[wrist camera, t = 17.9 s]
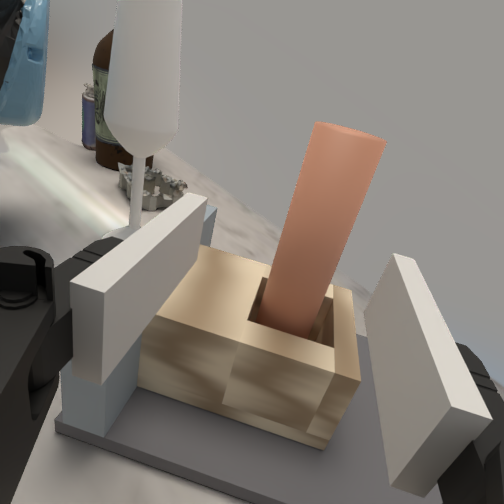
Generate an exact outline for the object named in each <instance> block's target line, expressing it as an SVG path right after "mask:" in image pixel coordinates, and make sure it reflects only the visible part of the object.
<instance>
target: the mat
mask: <svg viewBox="0 0 504 504" xmlns="http://www.w3.org/2000/svg"><path fill="white" fill-rule="evenodd" d="M356 338H357V347H358V356H359V366H360V375H361V383H360V385H359V387H358V388H357V390H356V392H355V394H354V396H353V398H352V399H351V401H350V403H349V405H348V407H347V409H346V411H345V412H344V414H343V416H342V418H341V420H340V422H339V424H338V425H337V427H336V429H335V431H334V433H333V435H332V436H331V438H330V440H329V442H328V444H327V446H326V448H325V449H324V451H323V450H321V449H318V448H315V447H312V446H309V445H306V444H303V443H300V442H297V441H294V440H292V439H289V438H286V437H283V436H280V435H277V434H274V433H271V432H268V431H266V430H263V429H260V428H257V427H254V426H251V425H248V424H245V423H242V422H239V421H237V420H234V419H231V418H228V417H225V416H222V415H219V414H216V413H213V412H211V411H208V410H205V409H202V408H199V407H196V406H193V405H190V404H187V403H185V402H182V401H179V400H176V399H173V398H170V397H167V396H164V395H161V394H158V393H156V392H153V391H150V390H147V389H144V388H141V387H138V386H137V387H136V389H135V390H134V392H133V393H132V395H131V397H130V398H129V400H128V401H127V403H126V404H125V406H124V407H123V409H122V410H121V412H120V414H119V415H118V417H117V418H116V420H115V421H114V423H113V424H112V426H111V427H110V429H109V431H108V432H107V434H106V435H105V437H101V436H98V435H95V434H93V433H90V432H87V431H84V430H81V429H79V428H76V427H73V426H70V425H68V424H65V423H63V413H62V411H61V413H60V414H59V415H58V416H57V417H56V419H55V431H56V432H59V433H61V434H64V435H67V436H70V437H72V438H75V439H78V440H81V441H83V442H86V443H89V444H92V445H94V446H97V447H100V448H103V449H105V450H108V451H111V452H114V453H116V454H119V455H122V456H125V457H127V458H130V459H133V460H136V461H138V462H141V463H144V464H147V465H149V466H152V467H155V468H158V469H160V470H163V471H166V472H169V473H171V474H174V475H177V476H180V477H182V478H185V479H188V480H191V481H193V482H196V483H199V484H202V485H204V486H207V487H210V488H213V489H215V490H218V491H221V492H224V493H226V494H229V495H232V496H235V497H237V498H240V499H243V500H246V501H248V502H251V503H254V504H442V503H443V501H442V498H441V494H440V490H439V487H438V483H437V484H436V485H435V486H434V487H433V488H432V490H431V491H430V492H429V493H428V494H427V495H426V496H425V498H422V497H419V496H417V495H414V494H411V493H408V492H405V491H402V490H399V489H396V488H394V487H391V486H390V483H389V477H388V470H387V463H386V457H385V450H384V444H383V437H382V430H381V424H380V417H379V410H378V404H377V397H376V391H375V384H374V377H373V371H372V364H371V358H370V351H369V344H368V338H367V337H364V336H361V335H358V334H356Z"/></svg>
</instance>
